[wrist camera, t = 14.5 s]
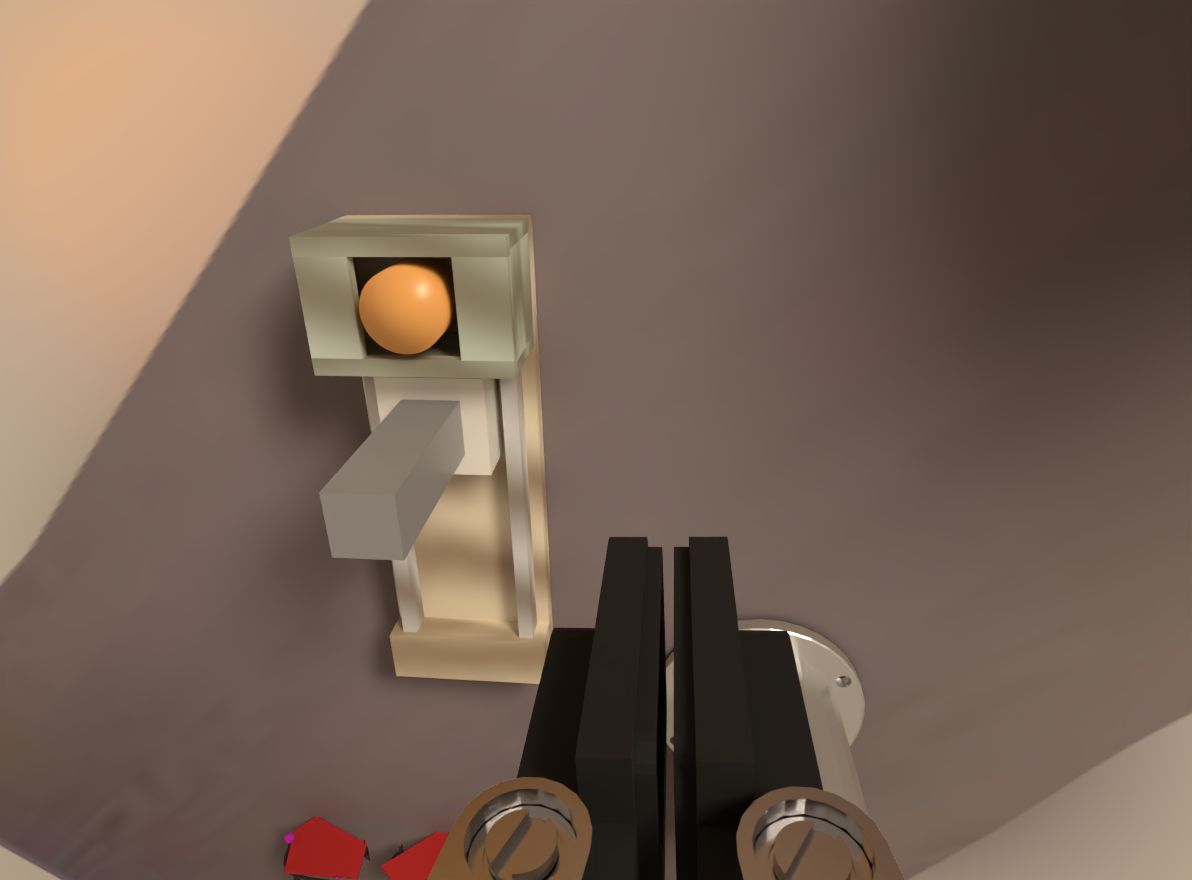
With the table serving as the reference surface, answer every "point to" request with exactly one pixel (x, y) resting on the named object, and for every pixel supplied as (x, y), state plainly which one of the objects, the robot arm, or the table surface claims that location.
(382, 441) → the carriage
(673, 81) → the table surface
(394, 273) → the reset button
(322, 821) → the glasses
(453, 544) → the board
